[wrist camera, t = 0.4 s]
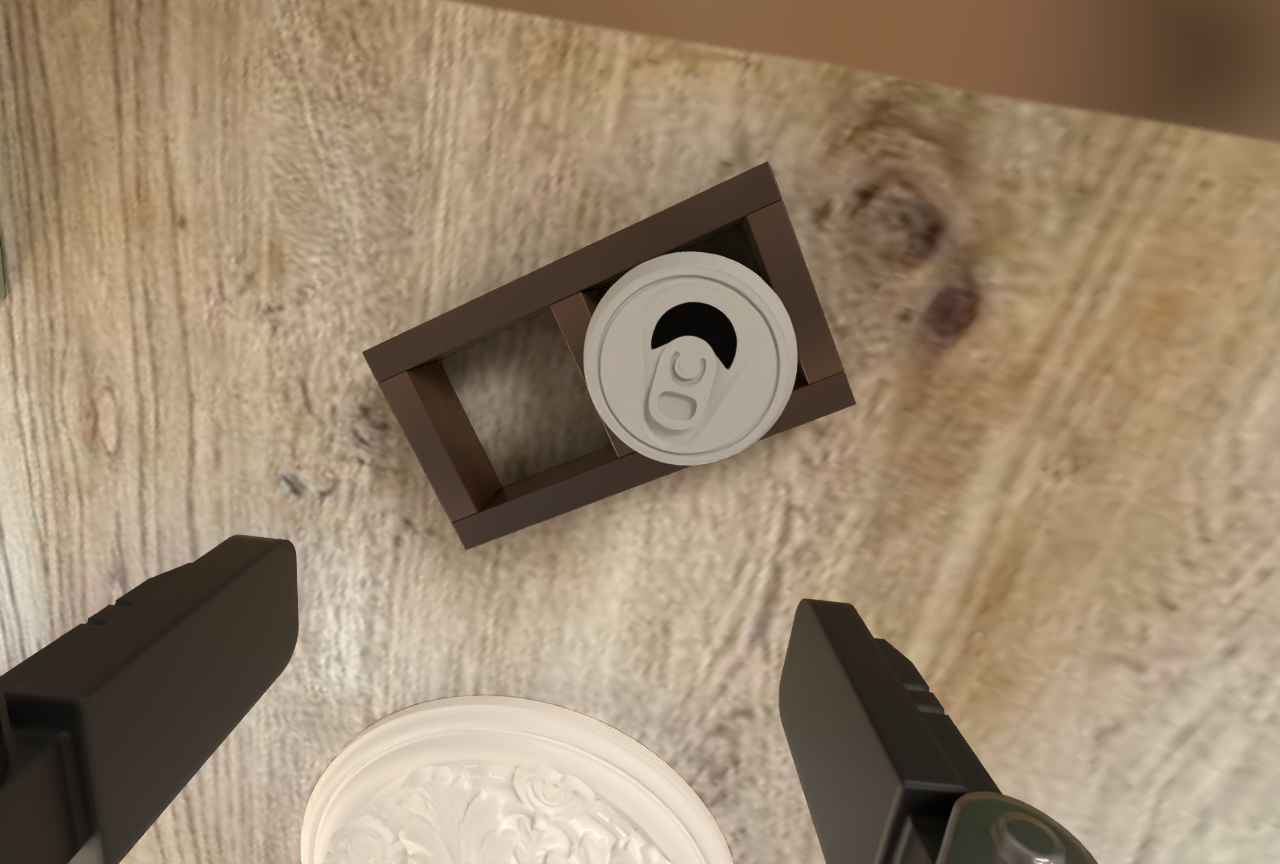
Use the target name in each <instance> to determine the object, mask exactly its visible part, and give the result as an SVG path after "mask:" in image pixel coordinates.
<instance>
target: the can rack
mask: <svg viewBox="0 0 1280 864" xmlns="http://www.w3.org/2000/svg"><path fill="white" fill-rule="evenodd" d="M781 199H782V197H781V194H780V191H779V188H778V185H777V183H776V180H775V177H774V174H773V172H772V169H771V166H770V163H769V162H765V163H763V164H761V165H759V166H757V167H755V168H752V169H750V170H748V171H746V172H744V173H742V174H740V175H738V176H735V177H733V178H731V179H729V180H727V181H725V182H723V183H720V184H718V185H716V186H714V187H712V188H710V189H708V190H706V191H703V192H701V193H699V194H697V195H695V196H693V197H691V198H689V199H686V200H684V201H682V202H680V203H678V204H676V205H674V206H672V207H669V208H667V209H665V210H663V211H661V212H659V213H657V214H655V215H652V216H650V217H648V218H646V219H644V220H642V221H640V222H638V223H635V224H633V225H631V226H629V227H627V228H625V229H623V230H621V231H618V232H616V233H614V234H612V235H610V236H608V237H606V238H604V239H601V240H599V241H597V242H595V243H593V244H591V245H589V246H587V247H584V248H582V249H580V250H578V251H576V252H574V253H572V254H570V255H567V256H565V257H563V258H561V259H559V260H557V261H555V262H553V263H550V264H548V265H546V266H544V267H542V268H540V269H538V270H536V271H533V272H531V273H529V274H527V275H525V276H523V277H521V278H519V279H516V280H514V281H512V282H510V283H508V284H506V285H504V286H502V287H499V288H497V289H495V290H493V291H491V292H489V293H487V294H485V295H482V296H480V297H478V298H476V299H474V300H472V301H470V302H468V303H465V304H463V305H461V306H459V307H457V308H455V309H453V310H451V311H448V312H446V313H444V314H442V315H440V316H438V317H436V318H434V319H431V320H429V321H427V322H425V323H423V324H421V325H419V326H417V327H414V328H412V329H410V330H408V331H406V332H404V333H402V334H400V335H397V336H395V337H393V338H391V339H389V340H387V341H385V342H383V343H380V344H378V345H376V346H374V347H372V348H370V349H368V350H366V351H363V352H362V354H363V356H364V357H365V359H366V361H367V363H368V365H369V367H370V369H371V371H372V373H373V375H374V377H375V378H376V380H377V382H378V383H379V386H380V388H381V390H382V392H383V394H384V396H385V398H386V399H387V401H388V403H389V405H390V407H391V409H392V411H393V413H394V415H395V417H396V419H397V421H398V422H399V424H400V426H401V428H402V430H403V432H404V434H405V436H406V438H407V440H408V442H409V443H410V445H411V447H412V449H413V451H414V453H415V455H416V457H417V459H418V461H419V463H420V465H421V466H422V468H423V470H424V472H425V474H426V476H427V478H428V480H429V482H430V484H431V486H432V487H433V489H434V491H435V493H436V495H437V497H438V499H439V501H440V503H441V505H442V507H443V509H444V510H445V512H446V514H447V516H448V518H449V520H450V522H452V526H453V528H454V530H455V531H456V533H457V535H458V537H459V539H460V541H461V543H462V545H463V547H464V549H465V550H467V549H470V548H473V547H475V546H478V545H481V544H483V543H486V542H489V541H491V540H494V539H497V538H500V537H502V536H505V535H508V534H510V533H513V532H516V531H518V530H521V529H524V528H526V527H529V526H532V525H534V524H537V523H540V522H542V521H545V520H548V519H550V518H553V517H556V516H558V515H561V514H564V513H566V512H569V511H572V510H574V509H577V508H580V507H582V506H585V505H588V504H590V503H593V502H596V501H599V500H601V499H604V498H607V497H609V496H612V495H615V494H617V493H620V492H623V491H625V490H628V489H631V488H633V487H636V486H639V485H641V484H644V483H647V482H649V481H652V480H655V479H657V478H660V477H663V476H665V475H668V474H671V473H673V472H676V471H679V470H681V469H684V468H687V467H690V465H674V464H669V463H664V462H660V461H657V460H654V459H651V458H649V457H646V456H644V455H642V454H640V453H639V452H637V451H635V450H634V449H632V448H631V447H629V446H628V445H627V444H625V443H624V442H623V441H622V440H621V439H620V438H618V437H617V436H616V435H615V433H614V432H613V431H612V430H611V429H610V428H609V427H608V425H607V424H606V423H605V422H604V420H603V419H602V417H601V416H600V414H599V413H598V414H599V417H600V419H601V421H602V423H603V426H604V428H605V430H606V432H607V434H608V437H609V439H610V441H611V443H612V445H610V446H607V447H605V448H602V449H600V450H597V451H594V452H592V453H589V454H587V455H584V456H582V457H579V458H577V459H574V460H572V461H569V462H566V463H564V464H561V465H559V466H556V467H554V468H551V469H549V470H546V471H544V472H541V473H538V474H536V475H533V476H531V477H528V478H526V479H523V480H521V481H518V482H516V483H513V484H510V485H508V486H505V487H503V488H502V486H501V484H500V482H499V480H498V478H497V476H496V474H495V471H494V469H493V467H492V465H491V463H490V461H489V459H488V457H487V455H486V453H485V451H484V449H483V447H482V445H481V443H480V441H479V439H478V437H477V435H476V433H475V431H474V429H473V427H472V425H471V423H470V421H469V419H468V417H467V415H466V413H465V411H464V409H463V407H462V405H461V403H460V401H459V399H458V397H457V395H456V393H455V391H454V389H453V387H452V385H451V383H450V381H449V379H448V377H447V375H446V373H445V371H444V369H443V367H442V365H441V363H440V361H438V360H440V359H442V358H444V357H447V356H449V355H451V354H453V353H455V352H458V351H460V350H462V349H464V348H467V347H469V346H471V345H473V344H475V343H478V342H480V341H482V340H484V339H486V338H489V337H491V336H493V335H495V334H497V333H500V332H502V331H504V330H506V329H508V328H511V327H513V326H515V325H517V324H520V323H522V322H524V321H526V320H528V319H531V318H533V317H535V316H537V315H539V314H542V313H544V312H546V311H548V310H550V309H551V310H552V313H553V315H554V317H555V319H556V321H557V324H558V326H559V328H560V330H561V332H562V335H563V337H564V339H565V341H566V344H567V346H568V348H569V350H570V352H571V355H572V357H573V359H574V361H575V364H576V366H577V368H578V370H579V372H580V375H581V377H582V379H583V381H584V383H585V386H586V388H587V390H588V387H587V383H586V379H585V373H584V344H585V338H586V333H587V330H588V327H589V323H590V320H591V318H592V316H593V313H594V312H595V310H596V308H597V306H598V304H599V302H600V301H601V300H600V297H599V295H598V293H597V291H596V290H595V289H597V288H599V287H601V286H603V285H606V284H608V283H610V282H612V281H614V280H617V279H619V278H621V277H622V276H624V275H625V274H626V273H627V272H629V271H630V270H632V269H633V268H635V267H637V266H638V265H640V264H642V263H644V262H646V261H649V260H651V259H654V258H656V257H659V256H663V255H667V254H672V253H676V252H678V251H681V250H683V249H685V248H687V247H689V246H692V245H694V244H696V243H698V242H701V241H703V240H705V239H707V238H709V237H712V236H714V235H716V234H718V233H720V232H723V231H725V230H727V229H729V228H731V227H734V226H736V225H738V224H740V223H742V226H743V229H744V231H745V234H746V237H747V239H748V242H749V245H750V247H751V250H752V253H753V255H754V258H755V261H756V263H757V266H758V269H759V271H760V274H761V277H762V279H763V281H764V282H765V283H766V284H767V285H768V286H769V287H770V288H771V289H772V290H773V291H774V292H775V293H776V295H777V296H778V297H779V298H780V300H781V302H782V303H783V305H784V307H785V309H786V311H787V313H788V315H789V317H790V320H791V323H792V326H793V329H794V332H795V337H796V344H797V371H798V372H796V378H795V382H794V386H793V390H792V393H791V395H790V398H789V400H788V402H787V404H786V406H785V408H784V410H783V412H782V413H781V415H780V417H779V418H778V419H777V421H776V422H775V423H774V425H773V426H772V427H771V428H770V429H769V430H768V431H767V432H766V433H765V434H764V435H763V436H762V437H761V438H760V439H759V440H762V439H764V438H767V437H770V436H772V435H775V434H778V433H780V432H783V431H786V430H789V429H791V428H794V427H797V426H799V425H802V424H805V423H807V422H810V421H813V420H815V419H818V418H821V417H823V416H826V415H829V414H831V413H834V412H837V411H839V410H842V409H845V408H847V407H850V406H853V405H855V404H856V402H855V399H854V396H853V394H852V391H851V388H850V385H849V383H848V380H847V377H846V374H845V372H844V369H843V366H842V363H841V360H840V358H839V355H838V352H837V349H836V346H835V344H834V341H833V338H832V335H831V333H830V330H829V327H828V324H827V321H826V319H825V316H824V313H823V310H822V308H821V305H820V302H819V299H818V296H817V294H816V291H815V288H814V285H813V283H812V280H811V277H810V274H809V271H808V269H807V266H806V263H805V260H804V258H803V255H802V252H801V249H800V246H799V244H798V241H797V238H796V235H795V233H794V230H793V227H792V224H791V222H790V219H789V216H788V213H787V210H786V208H785V205H784V202H783V200H781ZM588 392H589V391H588ZM589 395H590V393H589ZM590 397H591V396H590ZM594 406H595V405H594ZM595 408H596V407H595ZM596 410H597V409H596ZM597 412H598V411H597ZM759 440H758V441H759ZM691 466H692V465H691Z"/></svg>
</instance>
